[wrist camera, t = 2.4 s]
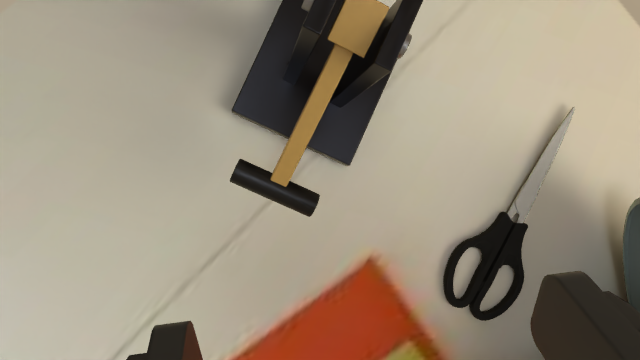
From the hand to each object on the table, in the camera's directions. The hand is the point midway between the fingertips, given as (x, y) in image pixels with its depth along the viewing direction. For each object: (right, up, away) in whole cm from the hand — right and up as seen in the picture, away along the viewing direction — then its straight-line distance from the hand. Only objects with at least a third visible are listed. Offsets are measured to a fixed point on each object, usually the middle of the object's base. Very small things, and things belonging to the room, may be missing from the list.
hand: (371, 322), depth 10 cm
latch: (-1, +8, +17) cm, 19 cm away
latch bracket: (-1, +12, +26) cm, 29 cm away
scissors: (+16, +1, +29) cm, 33 cm away
